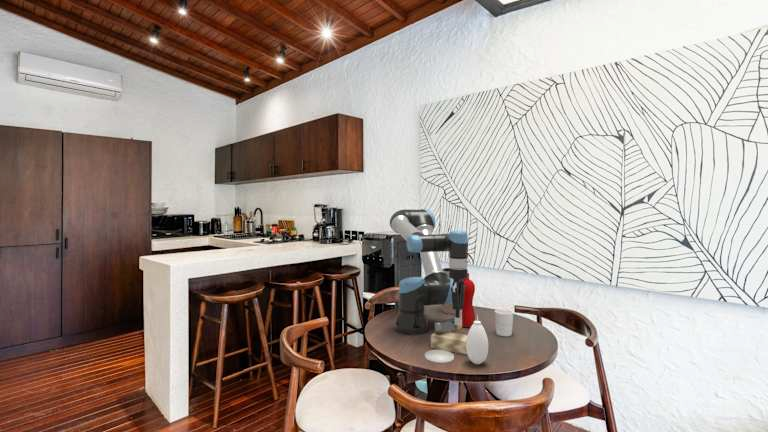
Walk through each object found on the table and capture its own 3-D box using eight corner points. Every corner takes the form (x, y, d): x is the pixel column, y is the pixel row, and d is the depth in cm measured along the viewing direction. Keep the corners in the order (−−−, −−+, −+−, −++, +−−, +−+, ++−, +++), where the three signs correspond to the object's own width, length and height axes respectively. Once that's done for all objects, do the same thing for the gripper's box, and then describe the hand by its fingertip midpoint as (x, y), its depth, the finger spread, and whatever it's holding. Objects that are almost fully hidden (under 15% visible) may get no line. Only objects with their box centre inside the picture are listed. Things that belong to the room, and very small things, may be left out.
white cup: (514, 337, 160) (514, 314, 160) (495, 336, 162) (495, 313, 161) (511, 331, 168) (512, 309, 168) (493, 330, 169) (493, 308, 169)
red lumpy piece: (477, 322, 181) (477, 271, 180) (471, 329, 171) (471, 275, 170) (458, 319, 185) (459, 269, 184) (451, 325, 176) (452, 273, 175)
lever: (439, 334, 149) (439, 324, 149) (432, 332, 152) (432, 322, 151) (462, 328, 157) (462, 318, 157) (455, 325, 160) (455, 316, 159)
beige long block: (431, 347, 149) (431, 329, 149) (436, 341, 155) (437, 324, 155) (481, 357, 140) (481, 337, 140) (485, 350, 146) (485, 331, 146)
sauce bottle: (464, 366, 132) (464, 316, 132) (467, 357, 140) (468, 310, 139) (487, 369, 129) (487, 318, 129) (489, 360, 137) (489, 312, 136)
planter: (456, 315, 192) (456, 271, 191) (438, 312, 197) (439, 270, 197) (463, 310, 200) (463, 268, 199) (446, 307, 206) (446, 267, 205)
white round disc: (420, 359, 138) (420, 357, 138) (430, 349, 148) (430, 347, 148) (448, 365, 133) (448, 363, 133) (457, 354, 142) (457, 352, 142)
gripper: (462, 271, 146) (462, 330, 146) (471, 266, 157) (471, 321, 158) (444, 269, 149) (444, 327, 150) (454, 265, 161) (454, 319, 161)
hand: (458, 324), depth 154 cm, fingers closed
